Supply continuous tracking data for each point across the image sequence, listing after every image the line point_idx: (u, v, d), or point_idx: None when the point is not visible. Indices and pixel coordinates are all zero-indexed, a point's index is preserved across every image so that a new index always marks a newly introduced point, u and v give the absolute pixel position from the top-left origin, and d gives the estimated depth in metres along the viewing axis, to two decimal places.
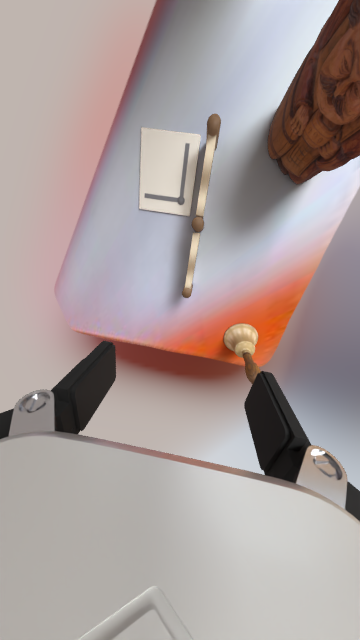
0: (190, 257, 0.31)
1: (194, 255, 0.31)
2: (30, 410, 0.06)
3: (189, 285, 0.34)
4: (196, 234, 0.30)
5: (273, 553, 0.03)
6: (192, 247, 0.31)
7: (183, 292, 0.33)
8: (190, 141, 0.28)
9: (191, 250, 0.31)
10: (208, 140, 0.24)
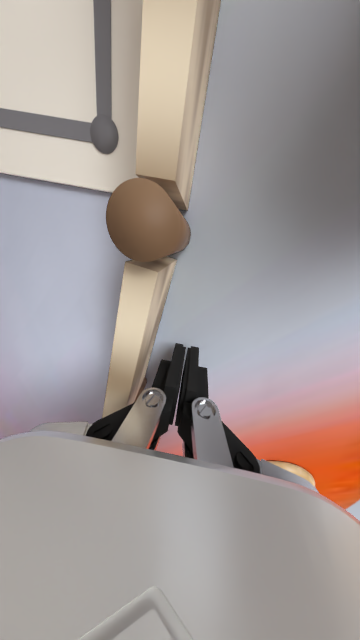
0: (116, 355, 0.08)
1: (132, 352, 0.07)
2: (147, 403, 0.07)
3: None
4: (141, 274, 0.06)
5: (273, 553, 0.03)
6: (123, 323, 0.07)
7: None
8: None
9: (119, 333, 0.07)
10: None
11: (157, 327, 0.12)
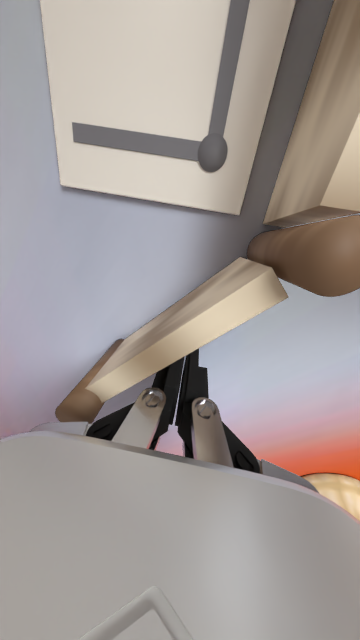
0: (176, 336, 0.07)
1: (194, 342, 0.07)
2: (147, 403, 0.07)
3: (106, 394, 0.09)
4: (273, 288, 0.06)
5: (273, 553, 0.03)
6: (213, 315, 0.06)
7: (63, 409, 0.08)
8: None
9: (200, 320, 0.06)
10: None
11: None
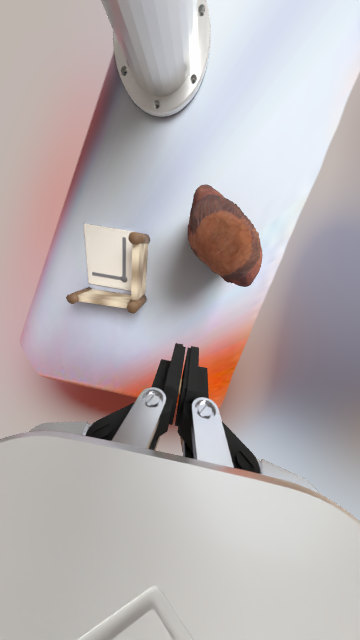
0: (106, 300, 0.33)
1: (108, 304, 0.33)
2: (147, 403, 0.07)
3: (81, 300, 0.34)
4: (125, 305, 0.33)
5: (273, 553, 0.03)
6: (115, 302, 0.33)
7: (70, 296, 0.32)
8: (126, 236, 0.32)
9: (112, 301, 0.33)
10: (133, 247, 0.29)
11: None
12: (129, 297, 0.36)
